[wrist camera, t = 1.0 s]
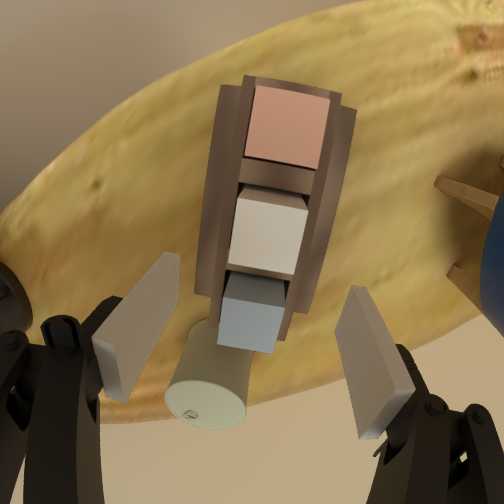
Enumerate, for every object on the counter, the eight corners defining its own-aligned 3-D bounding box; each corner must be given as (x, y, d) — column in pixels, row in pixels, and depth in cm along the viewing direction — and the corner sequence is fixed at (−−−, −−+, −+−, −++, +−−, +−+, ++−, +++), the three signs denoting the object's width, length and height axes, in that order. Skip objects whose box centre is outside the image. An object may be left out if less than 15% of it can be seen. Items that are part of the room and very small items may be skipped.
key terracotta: (251, 152, 25) (244, 155, 19) (260, 98, 23) (256, 85, 17) (307, 162, 25) (317, 169, 19) (316, 109, 23) (330, 99, 17)
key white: (238, 235, 28) (227, 262, 22) (246, 184, 26) (237, 197, 20) (289, 244, 28) (293, 274, 22) (300, 194, 26) (308, 210, 20)
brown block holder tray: (195, 289, 36) (180, 321, 29) (222, 86, 27) (207, 71, 20) (307, 309, 36) (312, 345, 29) (354, 110, 27) (375, 103, 20)
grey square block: (227, 305, 31) (217, 343, 25) (233, 263, 29) (223, 296, 23) (273, 314, 31) (272, 353, 25) (283, 272, 29) (285, 307, 23)
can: (176, 341, 39) (148, 404, 28) (215, 304, 36) (192, 370, 25) (225, 376, 41) (212, 441, 30) (268, 345, 38) (264, 414, 27)
